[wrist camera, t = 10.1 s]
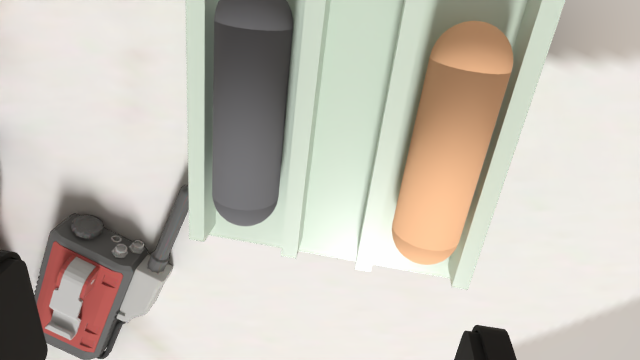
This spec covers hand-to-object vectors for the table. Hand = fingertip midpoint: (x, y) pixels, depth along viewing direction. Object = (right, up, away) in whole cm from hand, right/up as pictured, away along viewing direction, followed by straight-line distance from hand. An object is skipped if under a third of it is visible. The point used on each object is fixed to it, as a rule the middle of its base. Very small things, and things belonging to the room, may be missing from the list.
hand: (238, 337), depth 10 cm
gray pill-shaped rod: (-2, +7, +16) cm, 17 cm away
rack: (+4, +7, +18) cm, 20 cm away
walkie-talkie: (-14, -3, +27) cm, 30 cm away
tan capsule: (+9, +5, +15) cm, 18 cm away
